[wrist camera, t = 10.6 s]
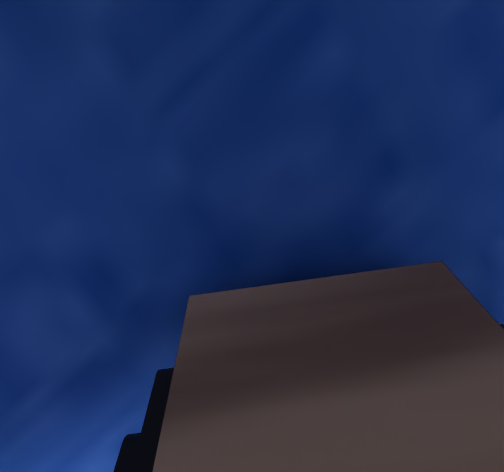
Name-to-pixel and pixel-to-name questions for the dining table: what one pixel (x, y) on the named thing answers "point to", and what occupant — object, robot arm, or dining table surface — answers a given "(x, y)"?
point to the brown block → (338, 378)
